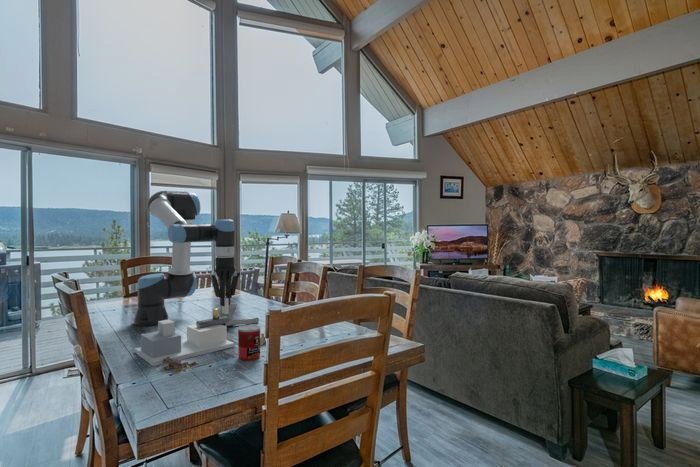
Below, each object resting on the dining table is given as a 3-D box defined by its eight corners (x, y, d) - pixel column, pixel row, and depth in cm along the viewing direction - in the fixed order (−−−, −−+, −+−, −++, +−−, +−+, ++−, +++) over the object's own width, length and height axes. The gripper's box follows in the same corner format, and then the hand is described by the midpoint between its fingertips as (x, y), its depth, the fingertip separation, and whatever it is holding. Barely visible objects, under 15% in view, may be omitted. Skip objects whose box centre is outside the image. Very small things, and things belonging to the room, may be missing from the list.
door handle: (219, 334, 194) (223, 322, 178) (217, 318, 197) (221, 305, 181) (255, 329, 201) (262, 317, 185) (253, 314, 205) (259, 301, 189)
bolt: (196, 326, 156) (196, 311, 156) (225, 320, 165) (225, 306, 165) (199, 327, 154) (199, 312, 154) (229, 322, 163) (229, 307, 163)
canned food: (249, 362, 138) (249, 331, 138) (233, 358, 142) (233, 328, 142) (264, 356, 144) (264, 326, 144) (249, 352, 149) (249, 323, 148)
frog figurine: (150, 375, 127) (150, 364, 127) (171, 362, 139) (171, 351, 139) (184, 377, 126) (184, 365, 126) (202, 363, 138) (202, 353, 138)
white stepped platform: (134, 352, 148) (134, 320, 148) (210, 336, 169) (210, 308, 169) (153, 366, 134) (153, 331, 134) (233, 346, 155) (233, 316, 155)
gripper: (214, 258, 155) (214, 317, 156) (243, 256, 165) (244, 312, 165) (205, 257, 161) (206, 314, 161) (234, 255, 170) (235, 309, 170)
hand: (225, 313), depth 163 cm, fingers closed
